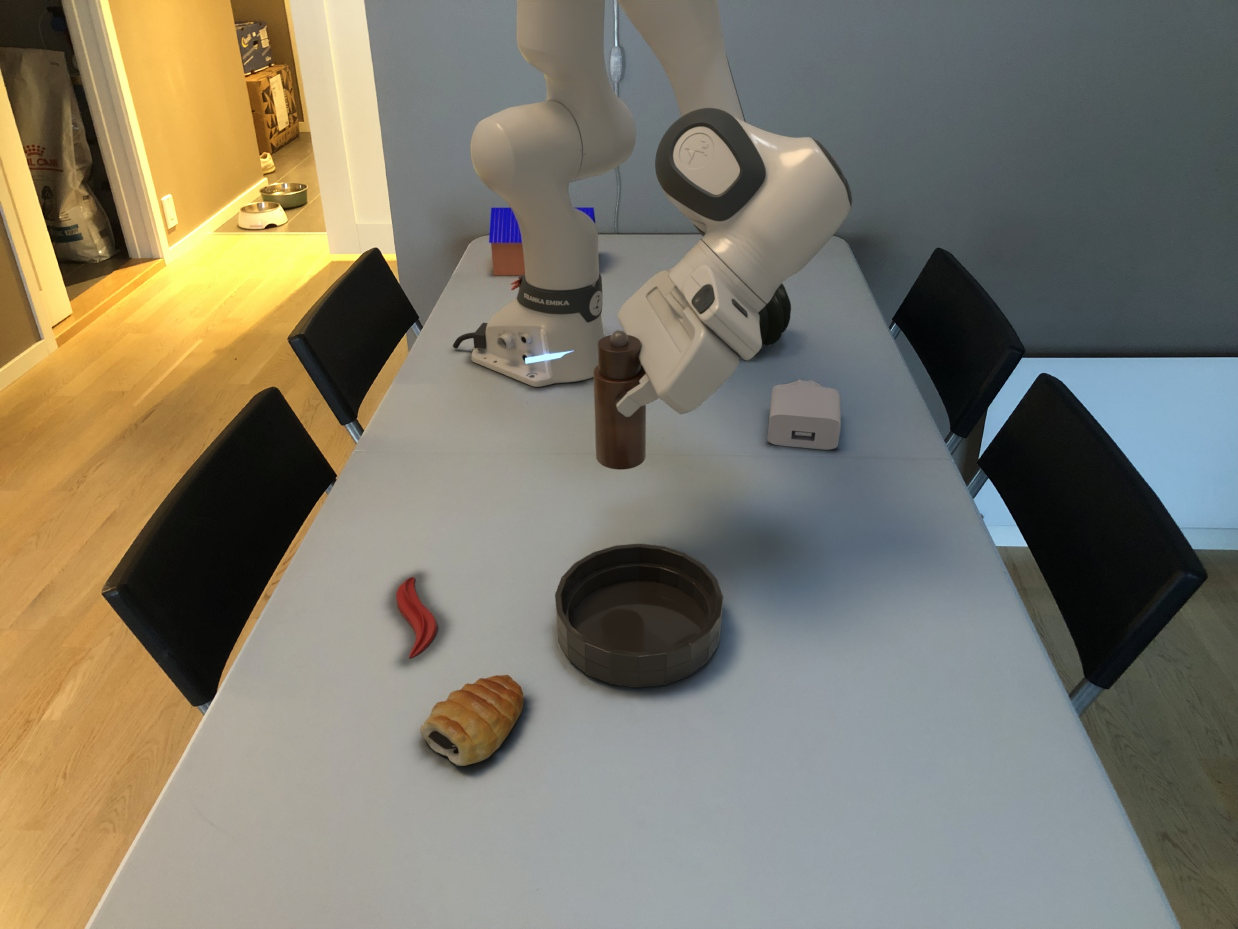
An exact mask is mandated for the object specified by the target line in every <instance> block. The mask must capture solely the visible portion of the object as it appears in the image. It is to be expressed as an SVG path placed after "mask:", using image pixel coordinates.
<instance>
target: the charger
mask: <svg viewBox="0 0 1238 929" xmlns="http://www.w3.org/2000/svg"><path fill="white" fill-rule="evenodd" d="M771 389H772V390H771V398H770V399H771V400H770V409H769V418H768V430H767V439H766V440H767V441H768V442H769V443H770V444H772V445H774V446H775V445H776V446H780V447H790V448H791V447H794V448H802V449H803V448H804V449H811V450H812V449H813V450H824V451H828V450H834V449H836V448H838V446H839V440H840V434H841V427H842V420H841V419H842V418H841V394H840V391H839V390H837V389H835V388H832V387H825V386H823V385H821V384H819V383H818V382H816V381H814V380H813V379H810V380H802V379H801V378H798V379H797V380H795V381H794V380H793V381H791V382H789V383H785V384H783V383H782V384H777V385H774V386H773V387H772V388H771Z"/></svg>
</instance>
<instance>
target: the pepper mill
mask: <svg viewBox="0 0 1238 929" xmlns="http://www.w3.org/2000/svg"><path fill="white" fill-rule="evenodd" d="M640 349H641V342H640V340H639V339H638V338H636V337H634V336H631V335H627V334H626V333H625V331H624V330H616V331H614V332H612V333H611V334H609V335H607V336H605V337H603V338H601V339H600V340H599V341H598V365H597V366H596V367H595V369H594V371H593V375H594V377H593V400H594V401H593V402H594V403H593V404H594V406H593V407H594V430H595V431H594V434H595V458H596V461H597V463H599V464H600V465H601V466H602V467H604V468H607V469H611V470H620V471H621V470H631V469H634V468H636V467H638V466H640V465H642V464H643V463H644V461H645V460H646V457H647V456H646V454H647V452H646V450H647V449H646V448H647V446H646V444H647V436H646V435H647V404H646V405H644V406H640V407H639V408H638V409H637V410H636V411H635V412H634V413H633V414H632V415H631V416H630V417H626V416H624V415H623V414H622V413H620V412H619V411H618V409H617V407H616V405H615V399H616V398H617V397H619V396H620V394H621V393H622V392H623V391H624V390H627V391H630V390H631V389H633V388H635V387H636V386H638V385H639V384H640V382H639V380H640V379H641V378H642V377H643V376H644V375H645V374H646V372H645V370H644V368H643V366H642V364H641V362H640V361H639V358H638V356H639V353H640Z"/></svg>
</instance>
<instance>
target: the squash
mask: <svg viewBox="0 0 1238 929" xmlns="http://www.w3.org/2000/svg"><path fill="white" fill-rule="evenodd" d="M791 313H792V304H791V300H790V297H789V294H788V292H787V290H786V287H785V285H784V284H783V283H782V284H781V285H780V286H779V287H778V288H777V290H776V291H775V293H774V295H773V297H772V298H771V300H770V301H769V302H768V304H766V306H765V307H764V308H763V309H761V310H760V311H759V312H758V314H759V316H760V320H759V325H760V333H761V339H762V347H763V346H771V345H774V344H776V343H777V342H778V341H779V340H780V338H781V336H782V335H783V334H784V332H785V331H786V330H787V328H788V326H789V324H790V320H791Z"/></svg>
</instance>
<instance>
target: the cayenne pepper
mask: <svg viewBox="0 0 1238 929" xmlns="http://www.w3.org/2000/svg"><path fill="white" fill-rule="evenodd" d="M415 582H416V578H415V577H414V576H412V577H411V576H410V577H409V578H407V579H406V580H405V581H404V582H402V583H401V584H400V586H398V588H397V591H396V595H395V598H396V603H397V607H398V609H399V611H400V613H401V615H402V616H403V617H404V619H405V620H406V621H407V622H408V623H409V625H410V626H411V628H412V629H413V631H414V634H415V642H414V644H413V647H412V649H410V650H411V651H410V653H409V656H408V659H411V658H414V657H416V656H417V655H420V654H421V653H422V652H423V651H424V650H426V649H427V648H428V646H430V644H431V643H432V642H433V640H434V638H435V637H436V634H437V631H438V625H437V621H436V618H435V616H434V614H433V613H432V612H431V611H430V610H429V609H428V608H427V607H425V606H424V604H423V603H422V601H421V599H420V598H419V596H418V594H417V592H416V588H415Z"/></svg>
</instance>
